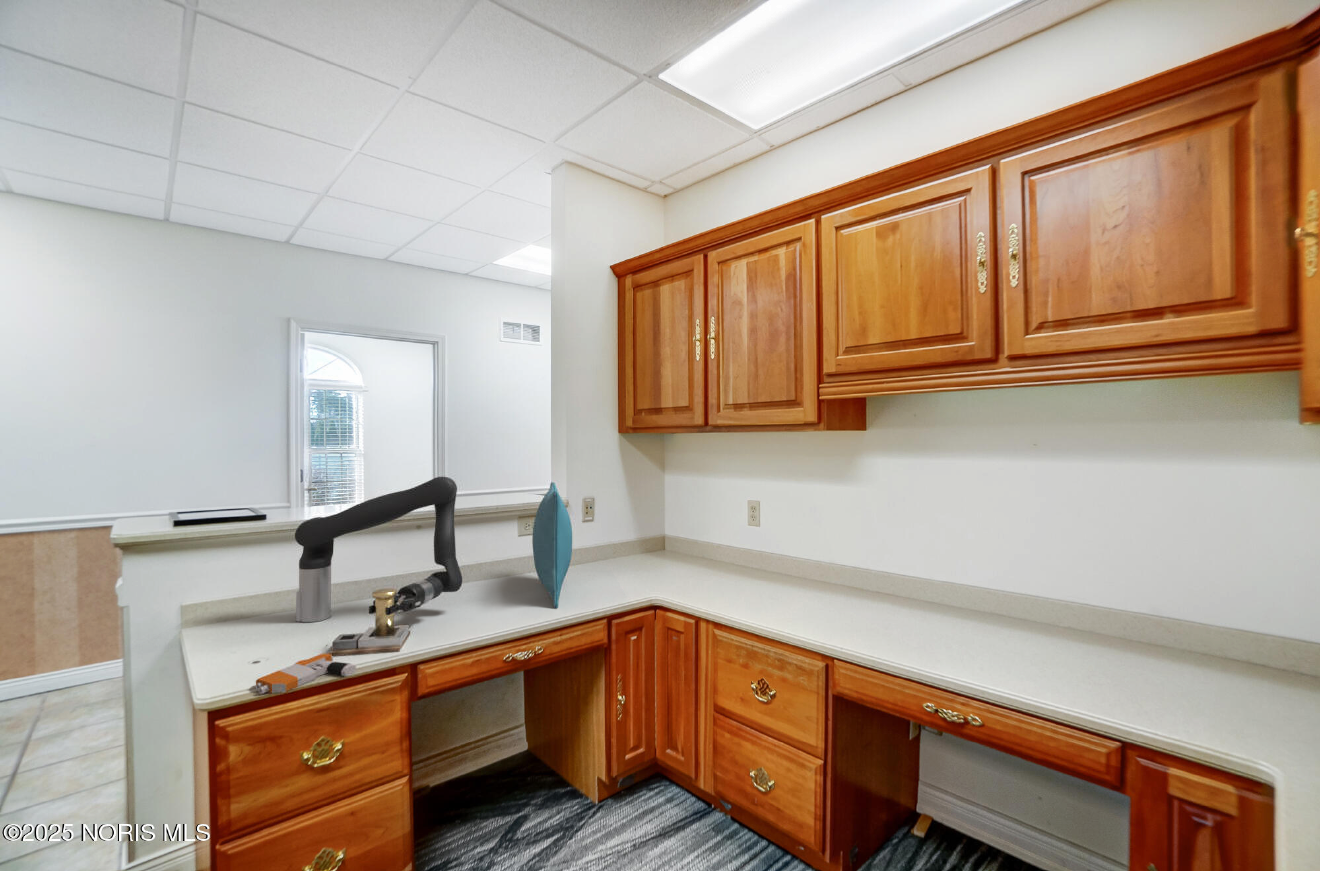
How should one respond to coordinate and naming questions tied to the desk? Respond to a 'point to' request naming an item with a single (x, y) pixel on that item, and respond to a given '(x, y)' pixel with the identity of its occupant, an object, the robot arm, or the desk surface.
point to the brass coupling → (384, 610)
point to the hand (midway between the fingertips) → (378, 610)
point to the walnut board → (368, 650)
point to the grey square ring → (346, 642)
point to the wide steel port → (383, 638)
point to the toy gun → (302, 673)
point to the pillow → (552, 542)
